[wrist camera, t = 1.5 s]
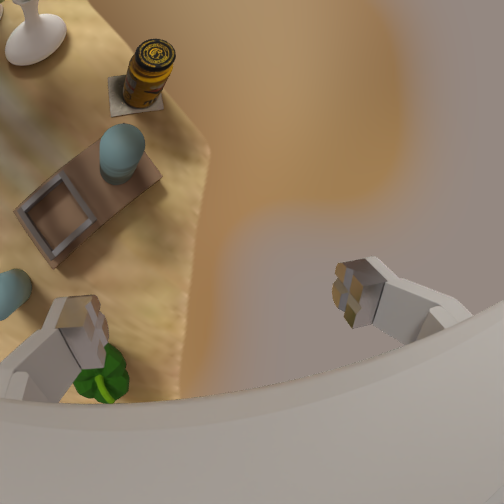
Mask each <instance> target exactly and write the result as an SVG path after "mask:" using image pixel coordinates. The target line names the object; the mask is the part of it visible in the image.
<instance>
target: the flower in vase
mask: <svg viewBox="0 0 504 504" xmlns="http://www.w3.org/2000/svg"><path fill="white" fill-rule="evenodd" d="M3 1H4V0H0V3H2V2H3ZM12 1H13V3H15V4H18V5H20V6H21V8H22V10H23V12H24V17H25V21H24V22H22V23H21V24H20V25H19V26H18V27H17V28H16V29H15V30H14V31H13V32H12V33H11V35H10V36H9V38H8V40H7V43H6V47H5V55H6V58H7V60H8V61H9V62H10V63H12V64H14V65H20V66H23V65H31V64H34V63H37V62H39V61H42V60H43V59H45V58H47V57H48V56H50V55H51V54H52V53H53V52H54V51H55V50H56V49H57V48H58V47H59V46H60V45H61V43H62V42H63V40H64V38H65V36H66V31H67V28H66V24H65V22H64V21H63V20H62V19H61V18H60V17H59V16H57V15H53V14H40V15H39V14H38V1H39V0H12Z"/></svg>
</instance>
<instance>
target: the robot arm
mask: <svg viewBox="0 0 504 504" xmlns="http://www.w3.org/2000/svg"><path fill="white" fill-rule="evenodd" d="M2 14H3V6H2V4H1V3H0V19H1V17H2ZM335 274H336V276H337V277H338V278H337V280H336V281H335V282H334V283H333V288H332V295H333V300H334V303H335V305H336V306H337V308H338V309H340V310H342V311H344V312H345V313H344V318H345V319H346V321H347V322H348V324H349V325H350V326H351V328H352V329H354V328H358V327H362V326H367V325H371V324H373V326H375V327H376V328H378V329H380V330H381V331H383V332H385V333H386V334H388V335H390V336H391V337H393V338H394V339H396V340H398V341H399V342H401V343H403V344H404V345H405V346H402V347H400V348H397V349H394V350H392V351H389V352H386V353H383V354H380V355H377V356H374V357H371V358H368V359H365V360H362V361H359V362H356V363H353V364H350V365H346V366H343V367H339V368H336V369H333V370H329V371H325V372H322V373H318V374H314V375H310V376H306V377H302V378H298V379H294V380H290V381H286V382H281V383H276V384H272V385H267V386H262V387H257V388H252V389H246V390H241V391H235V392H230V393H223V394H216V395H209V396H202V397H194V398H186V399H176V400H166V401H154V402H139V403H117V404H70V403H59V401H60V400H61V398H62V397H63V395H64V394H65V393H66V391H67V390H68V389H69V387H70V386H71V384H72V383H73V382H74V380H75V379H76V378H77V376H78V375H79V373H80V372H81V369H96V368H104V364H105V357H106V351H105V349H104V346H105V345H106V344H107V343H108V338H109V330H108V324H107V320H106V318H105V315H103V314H102V313H101V312H100V311H99V309H100V305H101V304H100V302H99V300H98V297H97V296H96V295H83V296H70V297H59V298H56V299H54V301H53V303H52V305H51V308H50V310H49V312H48V315H47V317H46V319H45V322H44V324H43V326H42V329H41V330H37V331H36V332H34V333H33V334H32V335H31V336H30V337H29V338H27V339H26V340H25V341H24V342H23V343H22V344H21V345H19V346H18V347H17V348H16V349H15V350H14V351H13V352H12V353H10V354H9V355H8V356H7V357H6V358H5V359H4V360H3V361H2V362H1V363H0V504H504V300H503V301H501V302H499V303H497V304H495V305H494V306H491V307H489V308H488V309H486V310H484V311H482V312H480V313H478V314H476V315H474V316H473V315H472V314H471V313H470V312H469V311H468V310H467V309H466V308H465V307H464V306H463V305H462V304H461V303H460V302H459V301H458V300H457V299H455V298H453V297H451V296H448V295H445V294H443V293H440V292H437V291H435V290H432V289H430V288H427V287H425V286H422V285H420V284H417V283H414V282H412V281H409V280H406V279H404V278H402V279H399V278H398V277H397V276H396V275H395V274H394V273H393V272H392V271H391V270H390V269H389V268H388V267H387V266H385V264H384V263H383V262H381V261H380V260H379V259H378V258H377V257H374V256H372V257H367V258H363V259H358V260H353V261H347V262H341V263H338V264H337V266H336V270H335Z"/></svg>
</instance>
